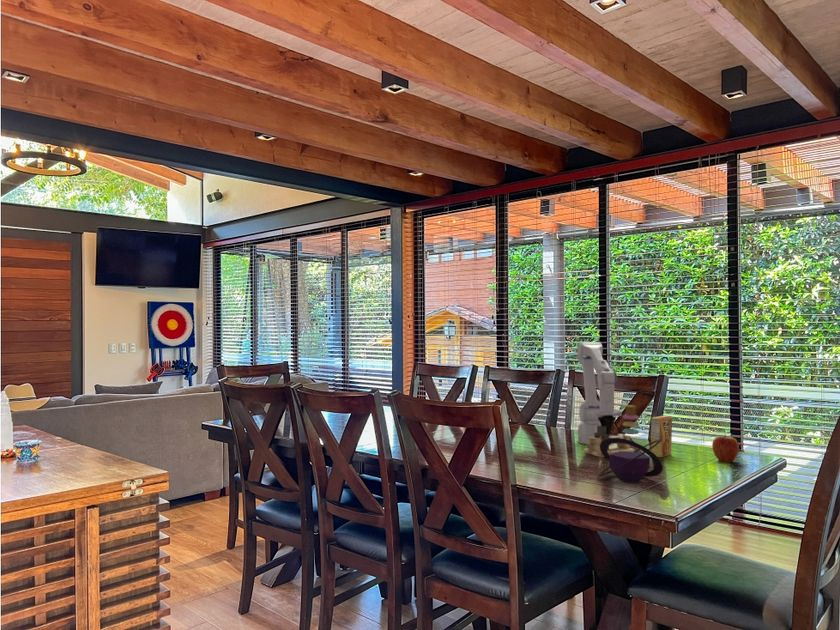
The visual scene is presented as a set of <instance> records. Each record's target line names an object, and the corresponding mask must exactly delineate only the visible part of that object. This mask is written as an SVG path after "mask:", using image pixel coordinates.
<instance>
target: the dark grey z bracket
mask: <svg viewBox="0 0 840 630" xmlns="http://www.w3.org/2000/svg"><path fill="white" fill-rule="evenodd" d="M609 436H610V435H608V434H606V426H601V425H600V426H597V432H596V433H594V438H600V437H604V438H603V440H605V439H609ZM609 446H610V445H609ZM609 446H608V447H607V450H609Z"/></svg>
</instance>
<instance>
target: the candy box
mask: <svg viewBox="0 0 840 630" xmlns="http://www.w3.org/2000/svg"><path fill="white" fill-rule="evenodd" d="M650 420H651V422H650V423H651V425H650V427H651V429H650V433H651V435H650V443H651V442H653V441H656V440H659V439H662V440H661V442H660V443H659V444H657V445H656V446H655V447H653V448H652V449H650V451H651V452H652V453H654V454H655V455H656V456H657V457H658V458H659V457H660V458H663V457H666V456H672V440H673V439H672V438H673V437H672V435H673V433H672V432H673V431H672V430H673V417H672V416H669V415H660V416H659V415H658V416H653V417H651V419H650ZM656 443H657V442H655V443H653V444H650V448H651V447H652V446H653V445H655V444H656Z"/></svg>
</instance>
